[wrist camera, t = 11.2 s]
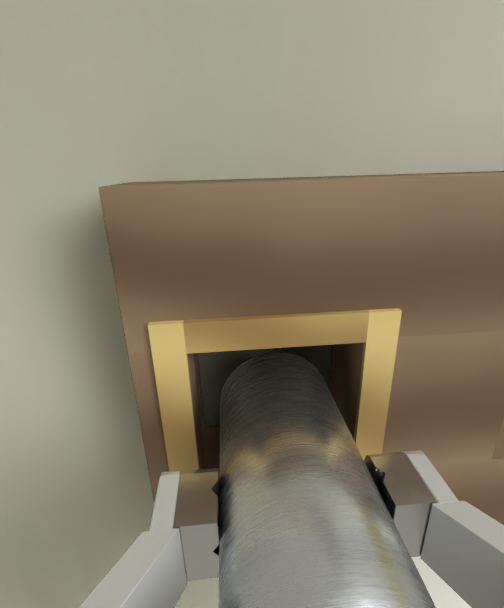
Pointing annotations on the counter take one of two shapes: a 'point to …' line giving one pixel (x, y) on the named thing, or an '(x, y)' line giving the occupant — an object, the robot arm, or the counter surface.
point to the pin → (301, 500)
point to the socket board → (323, 307)
